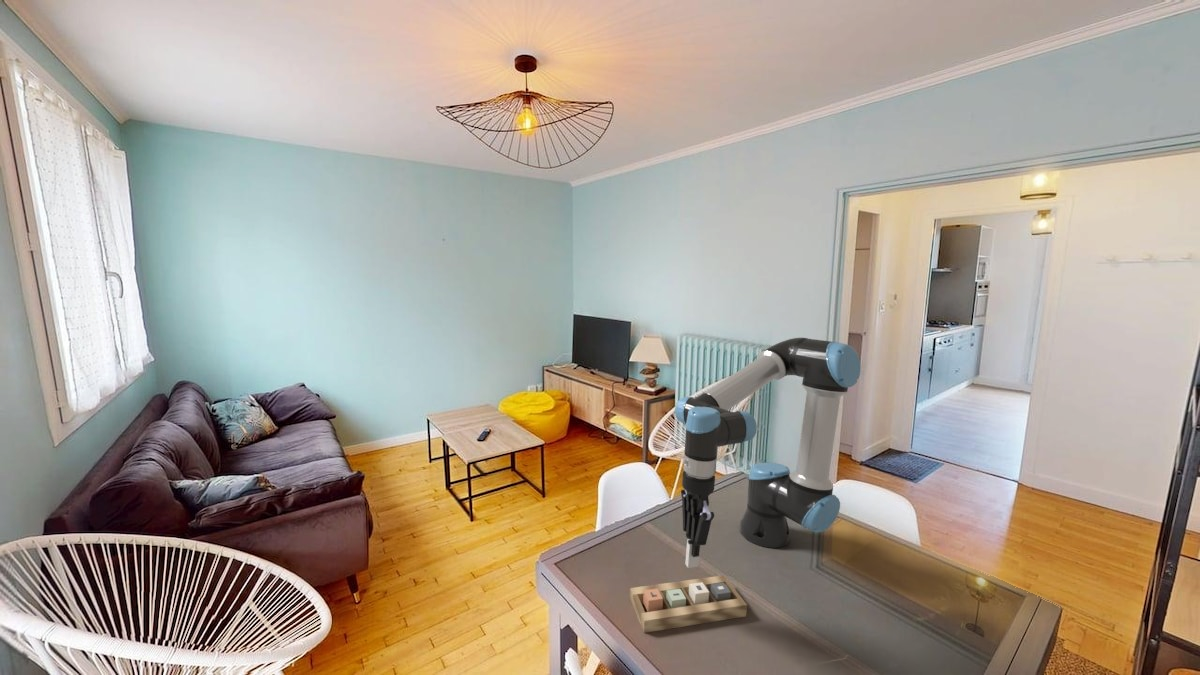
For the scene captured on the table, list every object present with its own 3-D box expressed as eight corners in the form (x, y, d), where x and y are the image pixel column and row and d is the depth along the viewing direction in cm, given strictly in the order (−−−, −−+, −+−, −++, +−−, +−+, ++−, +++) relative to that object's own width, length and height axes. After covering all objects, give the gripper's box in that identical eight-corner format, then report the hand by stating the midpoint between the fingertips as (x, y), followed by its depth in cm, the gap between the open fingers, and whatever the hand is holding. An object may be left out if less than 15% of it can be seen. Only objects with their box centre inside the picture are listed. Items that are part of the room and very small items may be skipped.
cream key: (701, 593, 112) (702, 581, 111) (708, 603, 108) (709, 591, 108) (688, 595, 111) (689, 583, 111) (694, 606, 107) (695, 593, 107)
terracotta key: (656, 600, 109) (657, 588, 109) (662, 610, 106) (662, 598, 105) (643, 602, 108) (643, 590, 108) (648, 613, 105) (648, 600, 104)
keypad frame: (723, 585, 117) (724, 575, 117) (746, 616, 107) (746, 604, 106) (629, 599, 111) (630, 588, 111) (644, 632, 101) (644, 620, 100)
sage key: (679, 600, 110) (680, 588, 110) (685, 610, 107) (686, 598, 107) (665, 602, 110) (666, 590, 109) (671, 612, 106) (672, 600, 106)
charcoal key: (722, 593, 113) (723, 582, 113) (730, 603, 110) (731, 591, 109) (710, 595, 112) (710, 583, 112) (716, 605, 109) (717, 593, 109)
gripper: (673, 462, 110) (666, 551, 113) (697, 486, 98) (689, 585, 100) (700, 461, 112) (693, 548, 115) (727, 484, 99) (719, 581, 102)
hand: (691, 565), depth 107 cm, fingers closed
